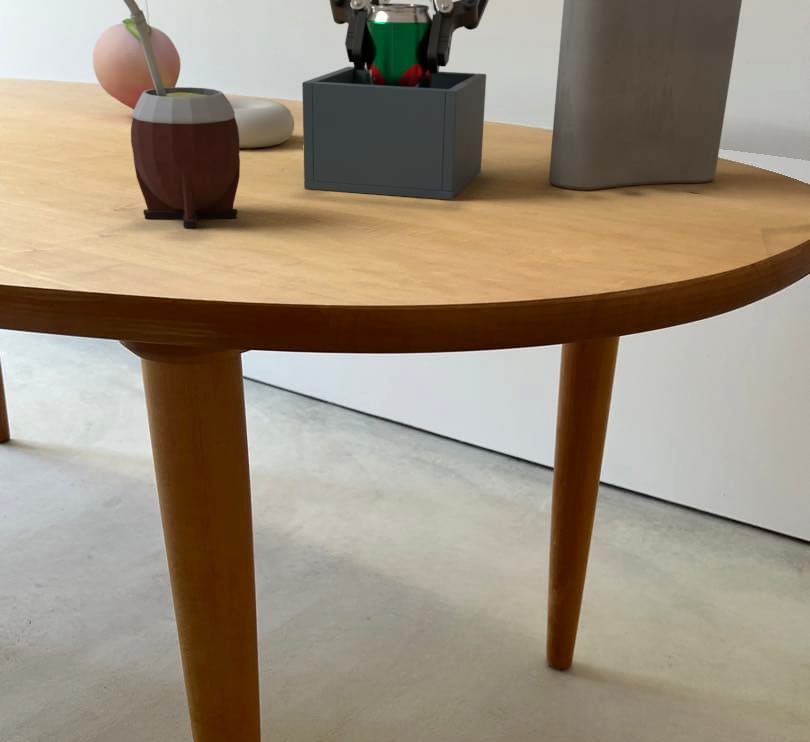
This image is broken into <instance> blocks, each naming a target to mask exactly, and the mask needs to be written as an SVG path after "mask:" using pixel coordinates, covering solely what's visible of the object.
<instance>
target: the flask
mask: <svg viewBox="0 0 810 742" xmlns="http://www.w3.org/2000/svg"><path fill="white" fill-rule="evenodd" d="M742 2H743V0H563V5H562V17H561V18H562V19H561V29H560V41H559V54H558V64H557V65H558V66H557V75H556V76H557V78H556V89H555V102H554V113H553V123H552V136H551V150H550V163H549V175H548V181H549V182H550V183H551V184H552V185H553V186H555V187H558V188H562V189H568V190H577V191H579V190H580V191H595V190H603V189H611V188H616V187H617V188H618V187H629V186H641V185H658V184H659V185H660V184H701V183H709V182H711V181H712V180H714V178H716V172H717V166H718V161H719V152H720V146H721V140H722V133H723V127H724V121H725V114H726V106H727V100H728V94H729V87H730V80H731V75H732V74H731V73H732V67H733V62H734V54H735V48H736V42H737V34H738V28H739V21H740V15H741V9H742Z"/></svg>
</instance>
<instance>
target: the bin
mask: <svg viewBox="0 0 810 742" xmlns="http://www.w3.org/2000/svg"><path fill="white" fill-rule="evenodd" d="M486 86H487V74H486V73H475V72H458V71H457V72H454V71H439V73H438V74H434V73H432V84H431V88H417V87H400V86H382V85H366V67H365V70H355V68H354V66H345V67H343V68H340V69H338V70H334V71H331V72H328V73H326V74H322V75H319V76H317V77H314V78H310V79H308V80H305V81H302V84H301V87H302V128H303V129H302V137H303V138H302V140H303V141H302V142H303V180H304V181H303V187H304V189H305V190H315V191H330V192H343V193H344V192H345V193H354V194H355V193H356V194H368V195H382V196H394V197H408V198H420V199H421V198H422V199H432V200H444V201H445V200H447V201H453V200H454V199H455V197H457V196H458V195H459V194H460V193H461V192H462V191H463V190H464V189H465V188H466V187H467V186H468V185H469V184H470V183H471V182H472V181H473V180H474V179H475V178H476V177H477V176H478V175H479V174H481V173H482V160H483V144H484V143H483V141H484V125H485V124H484V123H485V106H486V105H485V104H486Z"/></svg>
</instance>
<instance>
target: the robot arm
mask: <svg viewBox="0 0 810 742" xmlns="http://www.w3.org/2000/svg"><path fill="white" fill-rule="evenodd" d="M328 1H329V6H330V9H331V14H332V18H333V22H334V23H335V24H337V25H344V24H347V29H346V35H345V41H344V46H345V50H346V55H347V59H348V63H353V67H354V68H355V70H365V68H366V20H367V18H368V17H369V15H370V13H371V11H372V8H371V5H373V4H390V2H391V0H328ZM428 1H429V5H430V7H431V10H432V17H431V19H432V24H431V31H430V38H429V45H428V52H427V62H428V71H429V73H434V74H438V73H439V72H440V67H446V66H447V65H448V63H449V61H450V54H451V47H452V40H453V34H454V32H455V31H456V30H458V29H460V28H465V29H466V30H468V31H471V30H475V29H477V28H478V26H479V25H480V22H481V20H482V18H483V15H484V13H485V11H486V8H487V6H488V3H489V1H490V0H455V1H453V0H428Z"/></svg>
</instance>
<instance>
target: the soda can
mask: <svg viewBox="0 0 810 742" xmlns="http://www.w3.org/2000/svg"><path fill="white" fill-rule="evenodd" d="M371 8H372V11H371V13H370V15H369V17H368V18H367V20H366V65H365V68H366V85H382V86H400V87H417V88H431V84H432V73H429V71H428V62H427V52H428V45H429V38H430V31H431V24H432V17H431V15H430V13H429V10H430V7H429V5H425V4H419V3H418V4H416V3H388V4H373V5H371Z"/></svg>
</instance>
